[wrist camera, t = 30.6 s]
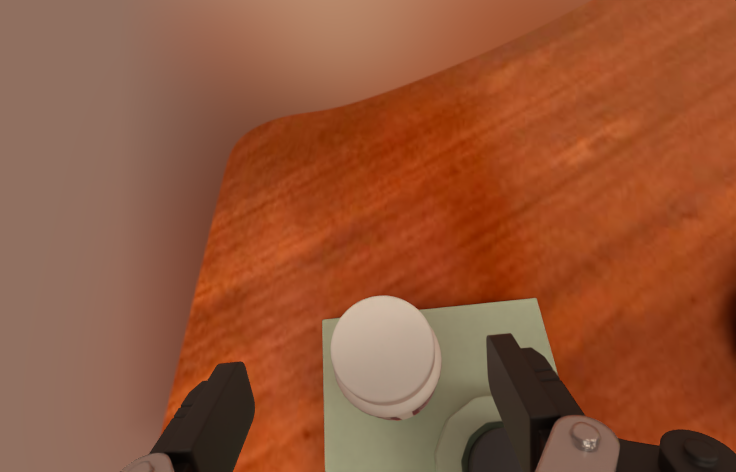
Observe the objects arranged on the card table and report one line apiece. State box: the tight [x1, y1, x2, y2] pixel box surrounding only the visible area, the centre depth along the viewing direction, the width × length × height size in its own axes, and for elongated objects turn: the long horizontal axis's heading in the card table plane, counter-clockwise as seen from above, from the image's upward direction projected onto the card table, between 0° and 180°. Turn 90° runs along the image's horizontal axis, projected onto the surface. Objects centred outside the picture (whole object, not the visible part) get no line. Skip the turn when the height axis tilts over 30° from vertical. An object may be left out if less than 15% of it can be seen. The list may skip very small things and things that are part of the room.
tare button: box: [468, 427, 523, 472], centre depth 18 cm, size 4×4×2 cm
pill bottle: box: [331, 296, 442, 421], centre depth 18 cm, size 5×5×8 cm
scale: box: [322, 298, 558, 472], centre depth 21 cm, size 13×12×3 cm
